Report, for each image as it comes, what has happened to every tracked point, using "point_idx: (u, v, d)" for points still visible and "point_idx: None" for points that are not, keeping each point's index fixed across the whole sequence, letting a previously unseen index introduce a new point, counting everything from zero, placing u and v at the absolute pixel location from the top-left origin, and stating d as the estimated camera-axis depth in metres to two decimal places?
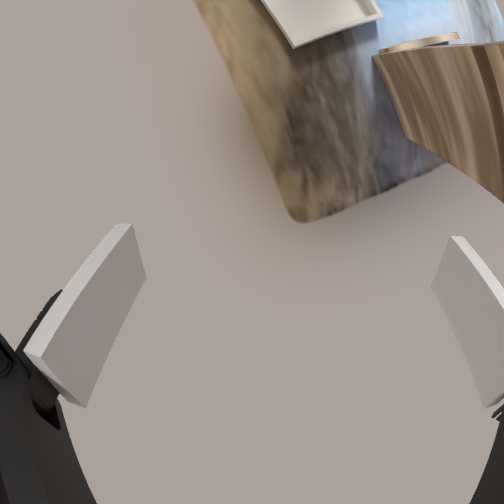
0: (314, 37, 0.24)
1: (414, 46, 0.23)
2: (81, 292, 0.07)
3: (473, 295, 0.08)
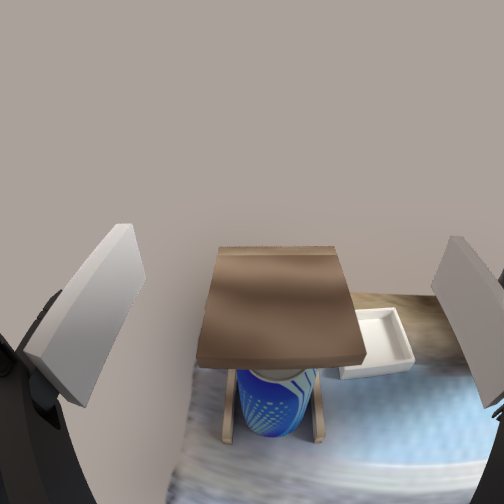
0: None
1: (315, 384, 0.36)
2: (81, 292, 0.07)
3: (473, 295, 0.08)
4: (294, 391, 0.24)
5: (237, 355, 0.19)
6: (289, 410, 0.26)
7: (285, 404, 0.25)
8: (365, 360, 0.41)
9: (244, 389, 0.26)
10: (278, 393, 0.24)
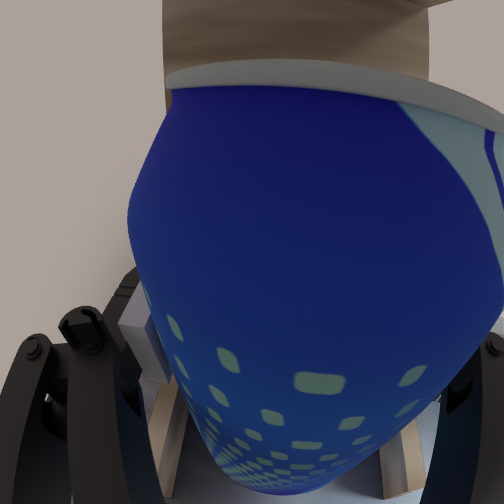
0: None
1: None
2: None
3: None
4: (502, 255, 0.02)
5: None
6: (394, 429, 0.04)
7: (422, 386, 0.03)
8: None
9: (140, 270, 0.04)
10: (422, 250, 0.02)
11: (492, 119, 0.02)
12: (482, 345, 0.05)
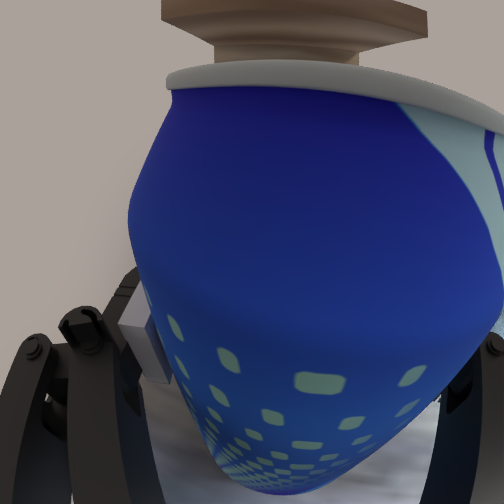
0: None
1: None
2: None
3: None
4: (502, 255, 0.02)
5: None
6: (395, 429, 0.04)
7: (422, 386, 0.03)
8: None
9: (141, 270, 0.04)
10: (422, 251, 0.02)
11: (492, 120, 0.02)
12: (482, 345, 0.05)
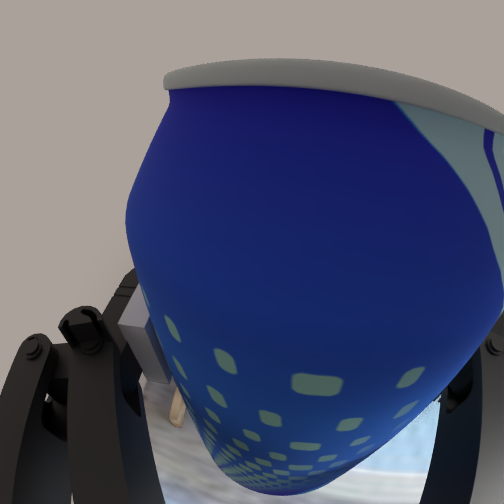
0: None
1: None
2: None
3: None
4: (502, 256, 0.02)
5: None
6: (393, 431, 0.04)
7: (421, 388, 0.03)
8: None
9: (138, 271, 0.04)
10: (420, 252, 0.02)
11: (492, 119, 0.02)
12: (482, 345, 0.05)
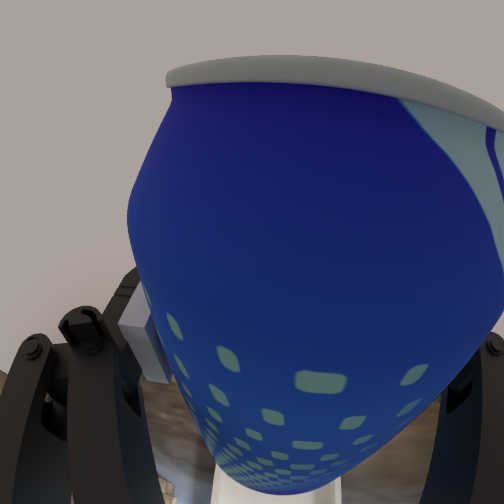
0: None
1: None
2: None
3: None
4: None
5: None
6: (395, 429, 0.04)
7: (424, 386, 0.03)
8: (259, 499, 0.20)
9: (140, 269, 0.04)
10: (424, 247, 0.02)
11: (493, 116, 0.02)
12: (482, 345, 0.05)
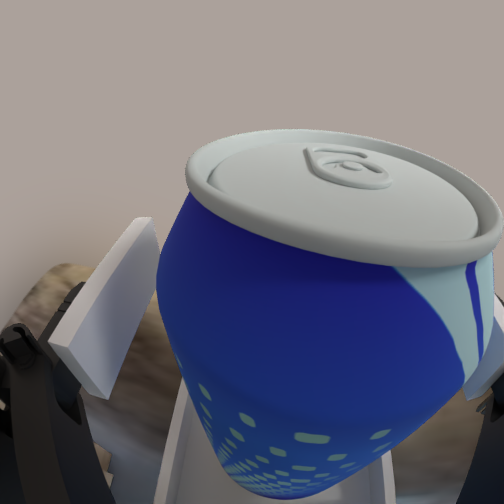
0: None
1: None
2: (106, 282, 0.08)
3: None
4: (465, 351, 0.03)
5: None
6: (375, 457, 0.05)
7: (391, 437, 0.04)
8: None
9: (174, 345, 0.05)
10: (390, 368, 0.03)
11: (476, 256, 0.03)
12: None
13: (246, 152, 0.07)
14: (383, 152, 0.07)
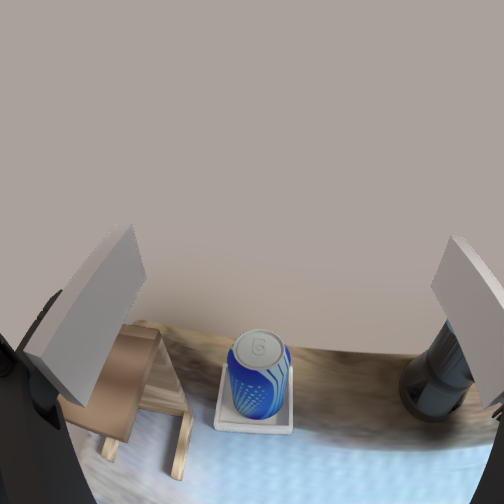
0: (222, 375, 0.46)
1: (182, 431, 0.36)
2: (81, 292, 0.07)
3: (473, 295, 0.08)
4: (269, 378, 0.32)
5: None
6: (266, 395, 0.34)
7: (262, 388, 0.33)
8: (244, 417, 0.41)
9: (232, 374, 0.34)
10: (256, 378, 0.32)
11: (265, 369, 0.32)
12: None
13: (242, 341, 0.36)
14: (272, 335, 0.37)
